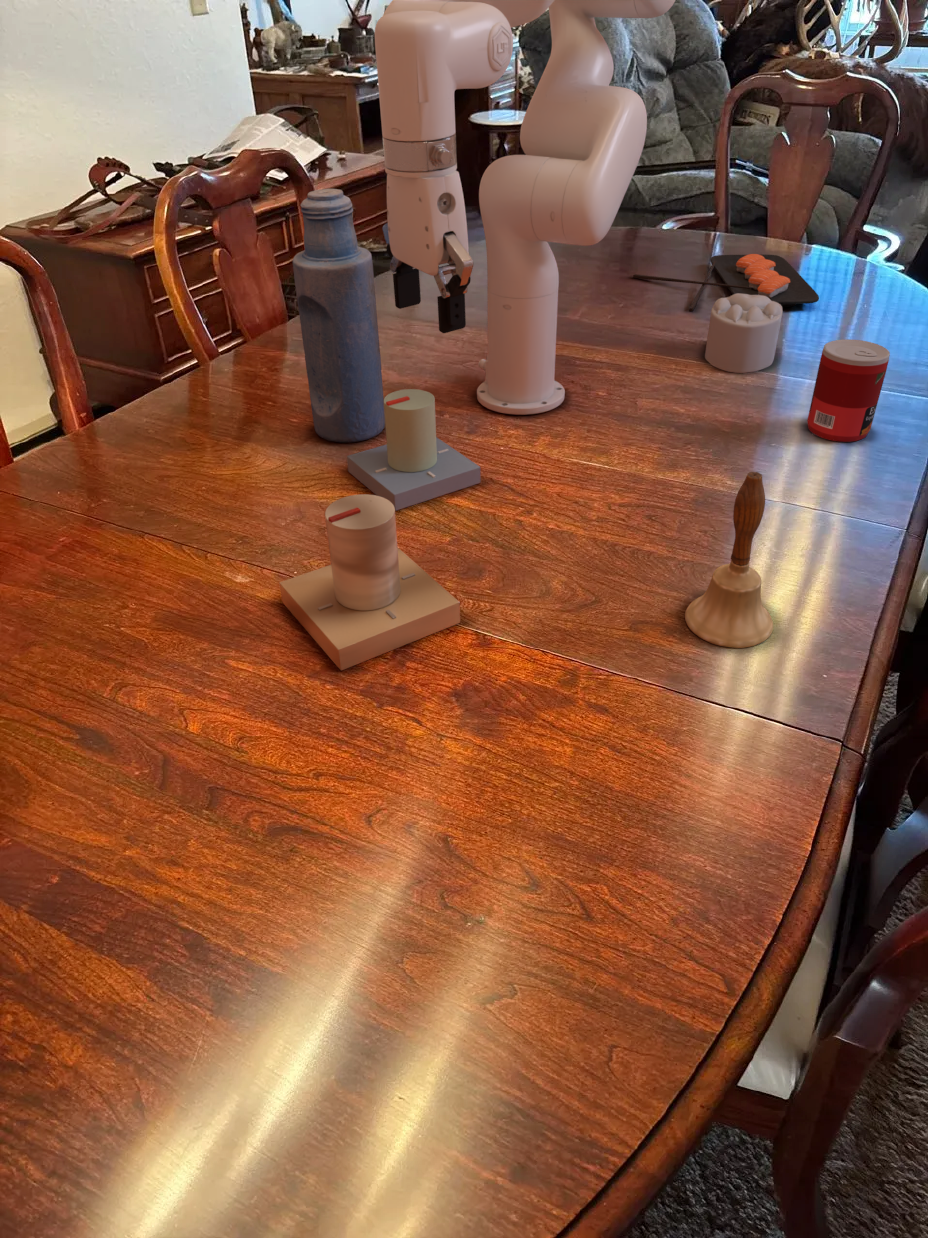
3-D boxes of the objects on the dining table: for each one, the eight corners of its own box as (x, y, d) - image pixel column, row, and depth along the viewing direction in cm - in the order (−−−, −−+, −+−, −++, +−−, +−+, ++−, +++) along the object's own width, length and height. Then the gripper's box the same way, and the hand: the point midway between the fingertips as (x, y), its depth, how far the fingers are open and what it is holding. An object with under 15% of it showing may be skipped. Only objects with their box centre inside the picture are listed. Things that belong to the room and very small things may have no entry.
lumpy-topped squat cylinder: (777, 346, 147) (787, 291, 142) (769, 376, 137) (780, 318, 132) (711, 339, 150) (719, 285, 145) (698, 368, 140) (706, 311, 135)
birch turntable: (282, 602, 93) (278, 580, 91) (394, 562, 98) (392, 541, 97) (340, 671, 84) (338, 648, 82) (460, 622, 90) (459, 600, 88)
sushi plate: (822, 311, 160) (827, 289, 158) (649, 314, 161) (651, 292, 158) (778, 263, 183) (782, 243, 181) (627, 265, 184) (629, 245, 182)
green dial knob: (420, 445, 116) (417, 382, 111) (446, 463, 112) (444, 398, 107) (379, 458, 113) (373, 394, 108) (404, 477, 109) (400, 411, 104)
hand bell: (757, 658, 84) (791, 506, 75) (671, 630, 88) (693, 481, 78) (783, 612, 90) (818, 465, 80) (702, 588, 94) (726, 444, 84)
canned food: (873, 445, 119) (895, 362, 112) (808, 440, 120) (826, 358, 113) (864, 420, 125) (885, 340, 118) (803, 416, 126) (820, 337, 119)
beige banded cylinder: (378, 566, 93) (371, 484, 88) (413, 595, 89) (408, 511, 84) (322, 587, 90) (311, 504, 85) (356, 618, 86) (346, 533, 81)
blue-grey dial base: (347, 471, 115) (346, 454, 114) (429, 447, 120) (429, 430, 119) (395, 511, 107) (394, 493, 106) (480, 482, 112) (480, 465, 111)
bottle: (400, 426, 126) (385, 189, 108) (345, 451, 120) (320, 204, 102) (354, 407, 131) (332, 178, 113) (299, 430, 125) (267, 192, 107)
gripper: (497, 162, 91) (499, 332, 102) (409, 136, 103) (419, 290, 113) (433, 175, 88) (441, 348, 99) (349, 146, 100) (365, 304, 110)
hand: (429, 317), depth 106 cm, fingers open, 9 cm apart
